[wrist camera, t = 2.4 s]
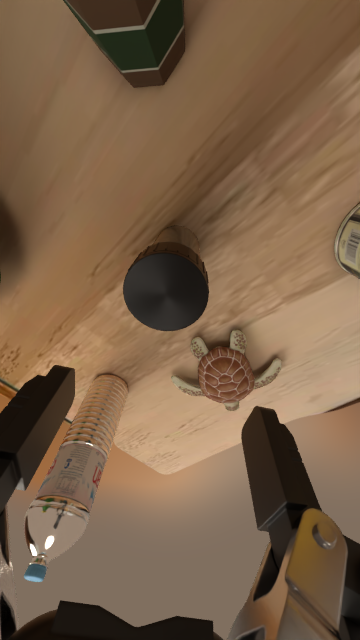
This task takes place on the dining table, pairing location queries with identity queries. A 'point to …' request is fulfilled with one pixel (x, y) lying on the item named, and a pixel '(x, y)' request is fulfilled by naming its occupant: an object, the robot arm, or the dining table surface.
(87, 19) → the beer bottle
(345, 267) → the coffee can
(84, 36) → the dining table surface
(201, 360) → the decorative turtle
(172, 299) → the jar lid
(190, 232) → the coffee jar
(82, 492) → the water bottle
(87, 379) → the dining table surface
